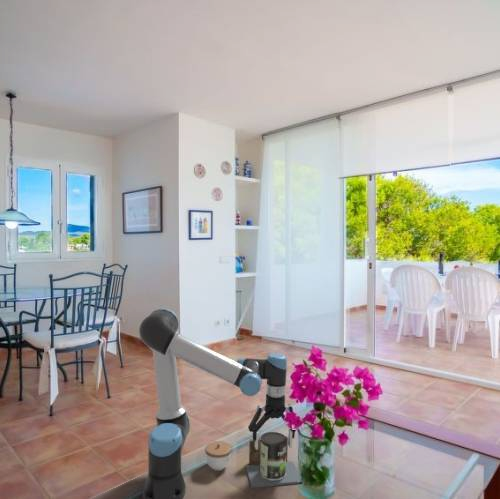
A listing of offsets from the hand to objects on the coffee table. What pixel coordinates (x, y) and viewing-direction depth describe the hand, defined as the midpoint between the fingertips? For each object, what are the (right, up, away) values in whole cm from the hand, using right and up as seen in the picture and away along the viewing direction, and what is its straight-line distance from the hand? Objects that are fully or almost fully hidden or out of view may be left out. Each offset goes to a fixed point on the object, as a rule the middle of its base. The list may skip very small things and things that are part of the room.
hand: (273, 447), depth 157 cm
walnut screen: (-2, -11, +9) cm, 14 cm away
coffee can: (0, -11, +1) cm, 11 cm away
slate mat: (0, -11, +1) cm, 11 cm away
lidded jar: (-22, -11, +6) cm, 25 cm away
